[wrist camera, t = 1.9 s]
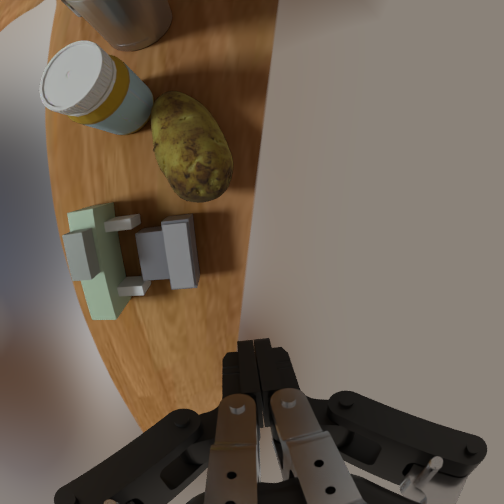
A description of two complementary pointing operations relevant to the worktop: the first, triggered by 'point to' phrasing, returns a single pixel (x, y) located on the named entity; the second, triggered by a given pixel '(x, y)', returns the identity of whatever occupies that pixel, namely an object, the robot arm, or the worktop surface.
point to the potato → (190, 148)
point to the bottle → (95, 89)
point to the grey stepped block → (170, 252)
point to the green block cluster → (101, 259)
